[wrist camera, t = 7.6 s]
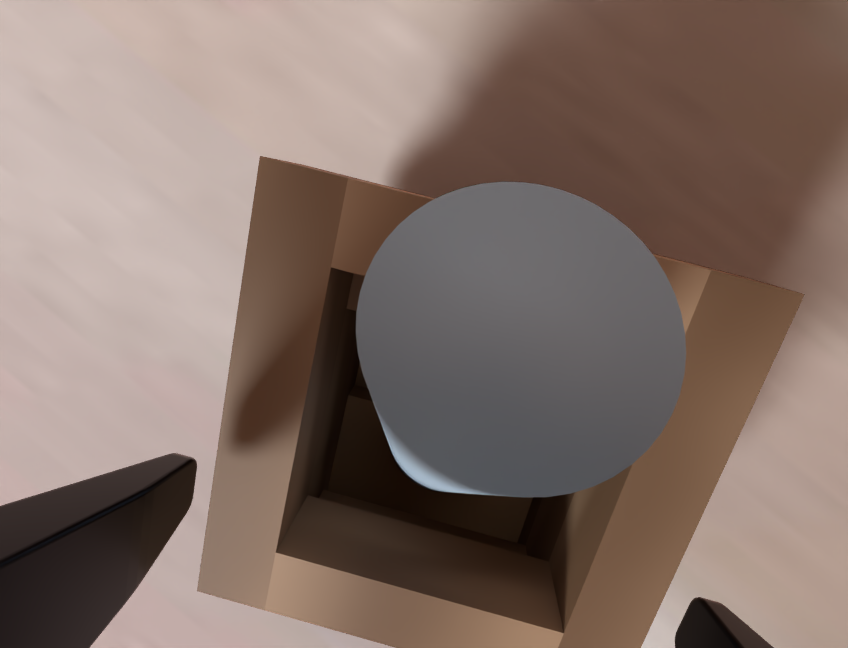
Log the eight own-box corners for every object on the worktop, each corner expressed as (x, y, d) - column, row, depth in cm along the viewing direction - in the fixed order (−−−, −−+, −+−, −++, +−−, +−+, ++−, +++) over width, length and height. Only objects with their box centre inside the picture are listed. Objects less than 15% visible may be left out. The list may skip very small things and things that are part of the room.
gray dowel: (506, 402, 14) (706, 233, 5) (478, 506, 13) (656, 551, 4) (409, 370, 14) (418, 146, 5) (374, 470, 14) (303, 428, 4)
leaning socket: (662, 253, 13) (805, 294, 8) (539, 582, 16) (575, 789, 11) (349, 174, 14) (260, 156, 8) (284, 511, 17) (184, 675, 11)
